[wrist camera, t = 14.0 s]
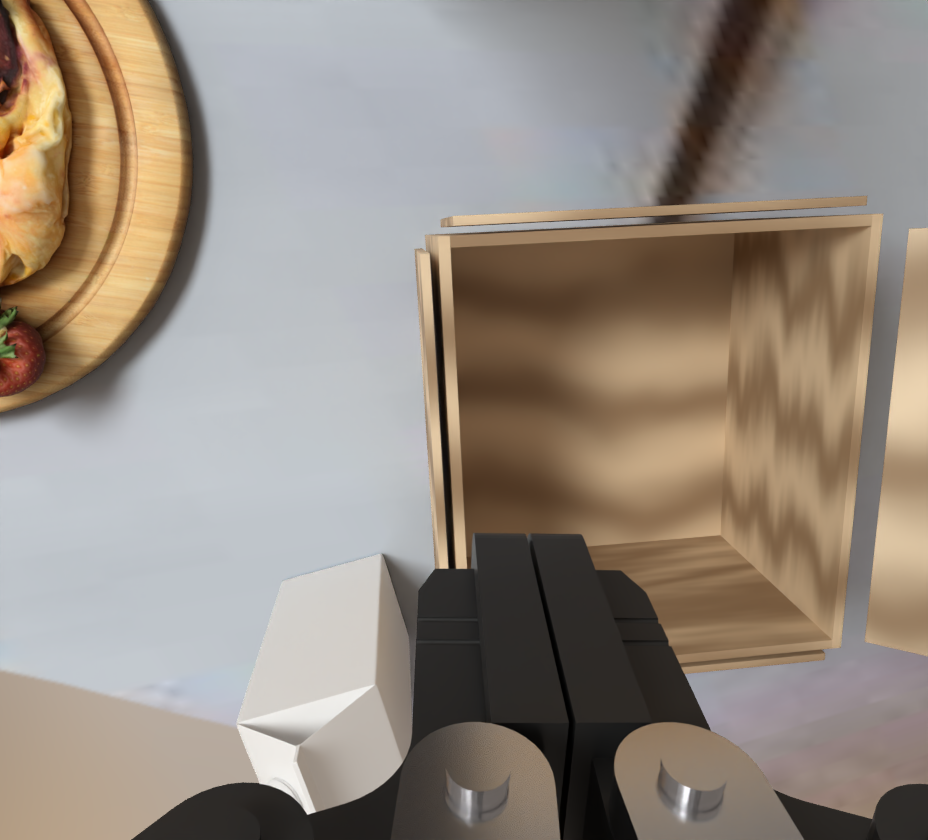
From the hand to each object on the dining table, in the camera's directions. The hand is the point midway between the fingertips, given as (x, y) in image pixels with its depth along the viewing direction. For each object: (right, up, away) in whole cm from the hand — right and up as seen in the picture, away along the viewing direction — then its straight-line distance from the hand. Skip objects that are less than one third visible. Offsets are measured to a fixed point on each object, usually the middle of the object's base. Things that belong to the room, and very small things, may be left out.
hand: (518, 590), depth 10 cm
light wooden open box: (+7, +4, +38) cm, 38 cm away
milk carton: (-9, -11, +40) cm, 43 cm away
